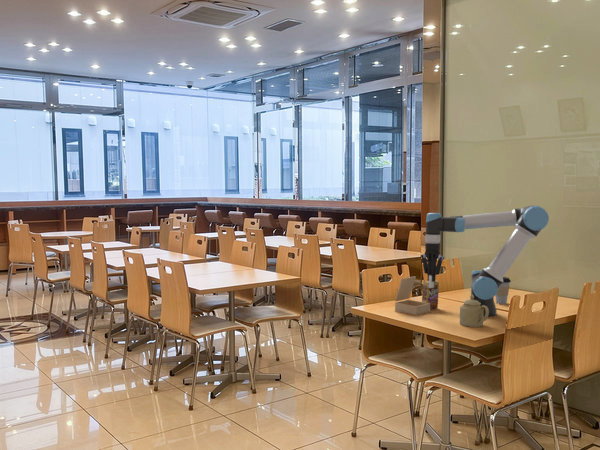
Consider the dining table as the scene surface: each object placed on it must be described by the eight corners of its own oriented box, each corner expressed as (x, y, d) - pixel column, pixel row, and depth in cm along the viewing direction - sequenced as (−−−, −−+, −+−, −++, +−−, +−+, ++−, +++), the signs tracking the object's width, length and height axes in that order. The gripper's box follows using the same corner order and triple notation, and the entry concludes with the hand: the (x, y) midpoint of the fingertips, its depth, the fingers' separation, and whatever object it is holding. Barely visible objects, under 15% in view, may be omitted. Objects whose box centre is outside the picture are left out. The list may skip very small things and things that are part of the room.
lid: (416, 276, 310) (415, 276, 311) (402, 278, 301) (401, 278, 301) (409, 298, 314) (408, 298, 314) (395, 301, 305) (394, 301, 305)
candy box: (426, 310, 309) (427, 282, 308) (421, 308, 313) (422, 281, 312) (438, 308, 314) (439, 281, 313) (432, 307, 318) (433, 280, 317)
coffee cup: (492, 303, 331) (493, 278, 330) (493, 301, 340) (494, 276, 339) (509, 305, 327) (510, 279, 326) (510, 302, 336) (511, 277, 335)
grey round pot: (493, 325, 276) (495, 294, 275) (487, 329, 267) (488, 298, 266) (463, 320, 285) (465, 291, 284) (456, 324, 276) (457, 294, 275)
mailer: (429, 311, 305) (430, 303, 305) (416, 315, 296) (416, 306, 295) (408, 307, 314) (408, 299, 314) (394, 310, 305) (395, 302, 305)
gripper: (447, 243, 293) (445, 288, 294) (425, 241, 302) (424, 285, 304) (440, 244, 288) (438, 290, 289) (418, 241, 297) (416, 286, 298)
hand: (431, 287), depth 296 cm, fingers closed
